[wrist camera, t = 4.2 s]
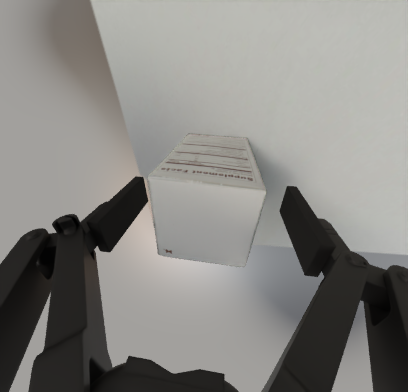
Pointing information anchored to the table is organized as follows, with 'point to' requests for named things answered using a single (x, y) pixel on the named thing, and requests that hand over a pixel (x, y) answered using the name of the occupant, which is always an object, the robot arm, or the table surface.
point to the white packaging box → (207, 200)
